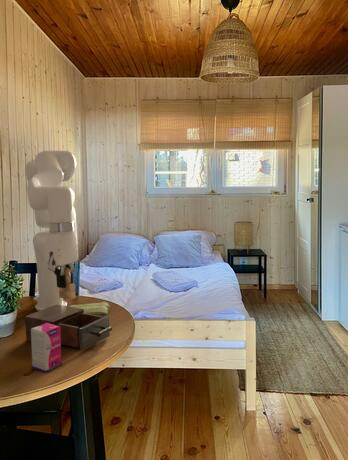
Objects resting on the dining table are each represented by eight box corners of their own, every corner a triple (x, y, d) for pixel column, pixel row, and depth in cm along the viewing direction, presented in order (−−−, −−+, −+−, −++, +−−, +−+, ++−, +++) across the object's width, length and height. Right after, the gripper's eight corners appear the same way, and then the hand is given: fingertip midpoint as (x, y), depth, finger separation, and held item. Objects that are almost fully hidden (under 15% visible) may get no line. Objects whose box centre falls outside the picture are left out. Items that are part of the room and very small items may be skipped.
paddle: (58, 297, 131) (57, 267, 130) (64, 296, 133) (62, 266, 132) (71, 299, 129) (69, 268, 128) (76, 297, 131) (74, 267, 130)
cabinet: (85, 332, 143) (84, 308, 142) (54, 347, 131) (53, 321, 130) (58, 327, 149) (56, 304, 148) (26, 341, 137) (24, 316, 136)
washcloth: (65, 310, 168) (65, 303, 168) (110, 308, 169) (109, 301, 169) (59, 321, 155) (59, 313, 155) (107, 319, 156) (107, 311, 156)
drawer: (119, 337, 136) (118, 317, 135) (93, 352, 124) (92, 331, 123) (82, 330, 143) (81, 311, 142) (54, 344, 132) (53, 323, 131)
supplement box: (46, 372, 114) (44, 332, 112) (32, 368, 117) (29, 328, 116) (62, 364, 119) (60, 325, 117) (48, 360, 122) (45, 322, 120)
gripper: (70, 224, 138) (73, 279, 140) (33, 230, 123) (36, 291, 126) (88, 225, 134) (90, 281, 136) (52, 231, 120) (55, 294, 122)
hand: (64, 285), depth 131 cm, fingers closed on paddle, 2 cm apart
